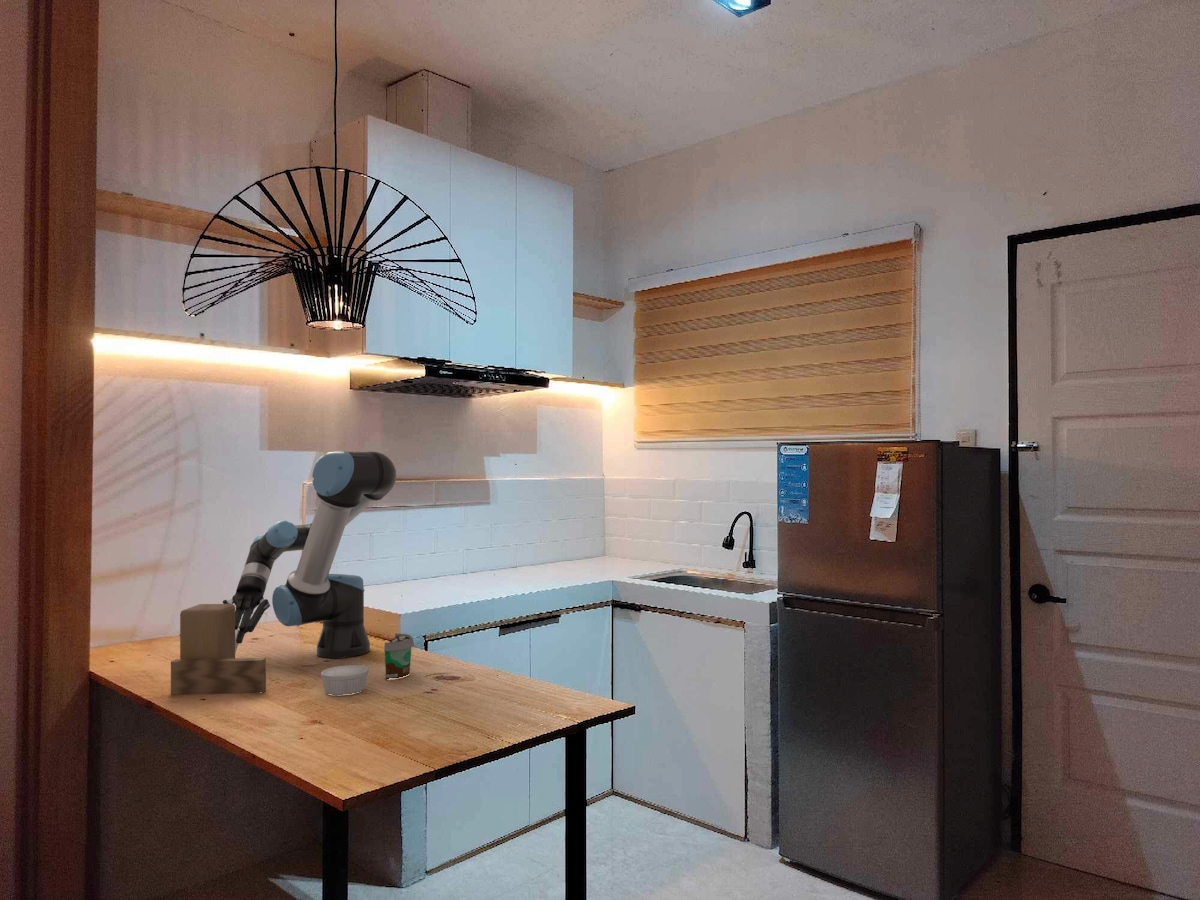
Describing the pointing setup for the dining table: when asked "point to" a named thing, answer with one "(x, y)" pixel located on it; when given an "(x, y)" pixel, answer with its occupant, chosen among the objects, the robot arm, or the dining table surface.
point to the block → (207, 632)
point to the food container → (398, 656)
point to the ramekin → (344, 679)
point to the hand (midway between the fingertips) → (230, 652)
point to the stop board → (218, 676)
